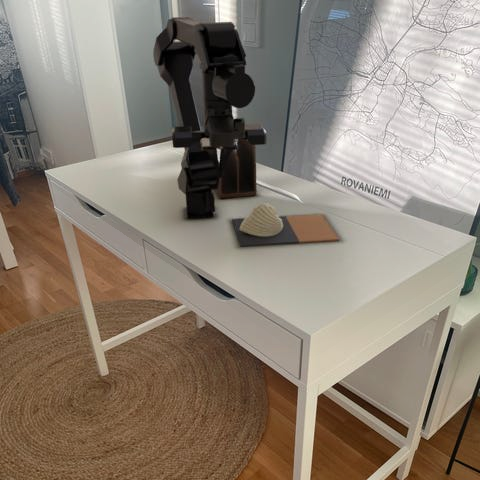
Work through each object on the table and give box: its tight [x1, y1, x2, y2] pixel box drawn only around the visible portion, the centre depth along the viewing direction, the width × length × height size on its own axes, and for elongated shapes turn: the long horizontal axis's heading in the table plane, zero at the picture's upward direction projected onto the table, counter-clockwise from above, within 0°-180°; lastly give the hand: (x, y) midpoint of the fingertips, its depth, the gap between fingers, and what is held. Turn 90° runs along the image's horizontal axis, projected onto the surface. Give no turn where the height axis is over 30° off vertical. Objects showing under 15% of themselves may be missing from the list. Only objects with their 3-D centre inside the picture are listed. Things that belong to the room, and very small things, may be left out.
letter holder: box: [215, 139, 257, 199], centre depth 132 cm, size 10×20×14 cm, turn 14°
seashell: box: [240, 201, 283, 237], centre depth 109 cm, size 8×8×8 cm
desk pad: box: [232, 213, 340, 248], centre depth 112 cm, size 22×14×1 cm, turn 98°
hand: (219, 177), depth 103 cm, fingers closed
